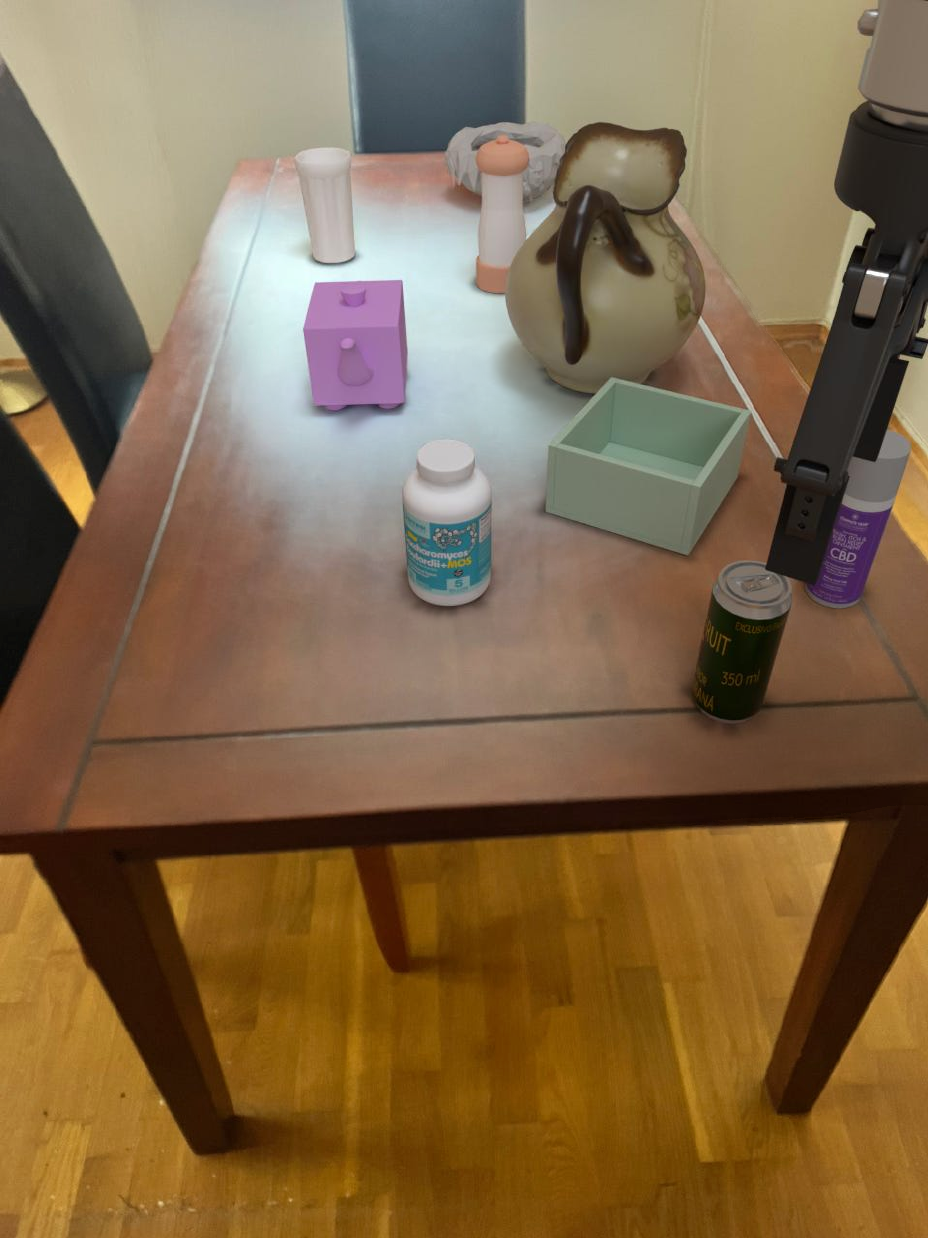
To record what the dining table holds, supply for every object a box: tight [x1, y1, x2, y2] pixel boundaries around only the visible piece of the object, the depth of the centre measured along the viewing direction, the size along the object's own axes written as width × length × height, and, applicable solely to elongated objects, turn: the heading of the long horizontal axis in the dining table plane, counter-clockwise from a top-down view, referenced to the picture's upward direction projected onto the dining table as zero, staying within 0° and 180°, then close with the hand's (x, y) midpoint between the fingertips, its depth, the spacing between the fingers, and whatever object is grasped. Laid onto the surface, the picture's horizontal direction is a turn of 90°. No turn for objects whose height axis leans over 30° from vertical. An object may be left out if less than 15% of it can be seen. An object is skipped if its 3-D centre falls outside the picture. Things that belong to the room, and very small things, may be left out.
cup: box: [293, 146, 356, 264], centre depth 135 cm, size 8×8×14 cm
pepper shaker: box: [475, 135, 530, 294], centre depth 125 cm, size 7×7×19 cm
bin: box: [545, 377, 752, 556], centre depth 90 cm, size 15×15×8 cm
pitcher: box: [504, 121, 707, 395], centre depth 102 cm, size 22×24×25 cm
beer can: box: [691, 559, 793, 725], centre depth 68 cm, size 5×5×12 cm
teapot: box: [302, 279, 409, 411], centre depth 104 cm, size 20×10×12 cm, turn 1°
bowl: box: [444, 121, 567, 203], centre depth 154 cm, size 21×20×10 cm
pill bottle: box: [401, 438, 493, 607], centre depth 78 cm, size 8×7×14 cm
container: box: [804, 429, 912, 609], centre depth 76 cm, size 5×5×15 cm
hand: (825, 509), depth 54 cm, fingers open, 13 cm apart
